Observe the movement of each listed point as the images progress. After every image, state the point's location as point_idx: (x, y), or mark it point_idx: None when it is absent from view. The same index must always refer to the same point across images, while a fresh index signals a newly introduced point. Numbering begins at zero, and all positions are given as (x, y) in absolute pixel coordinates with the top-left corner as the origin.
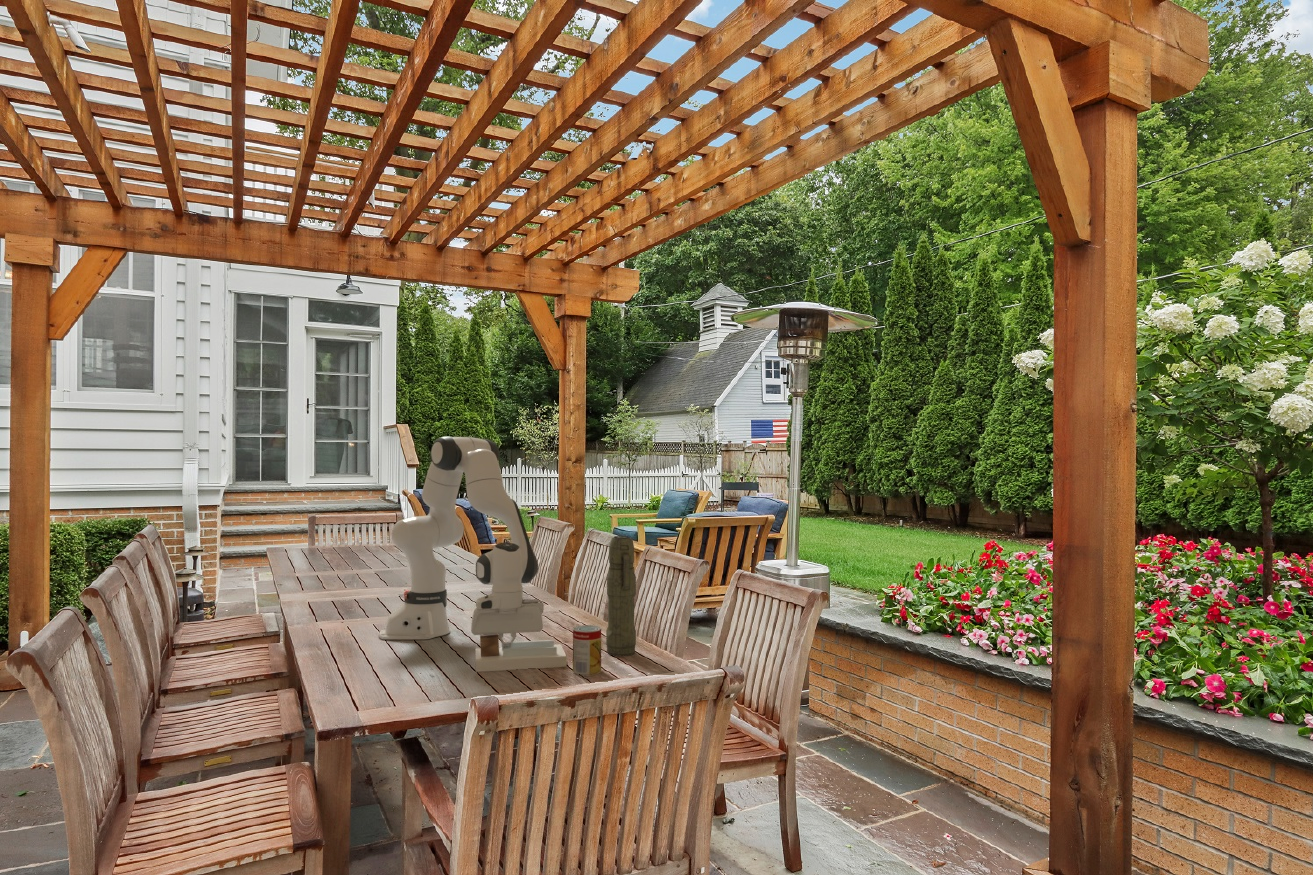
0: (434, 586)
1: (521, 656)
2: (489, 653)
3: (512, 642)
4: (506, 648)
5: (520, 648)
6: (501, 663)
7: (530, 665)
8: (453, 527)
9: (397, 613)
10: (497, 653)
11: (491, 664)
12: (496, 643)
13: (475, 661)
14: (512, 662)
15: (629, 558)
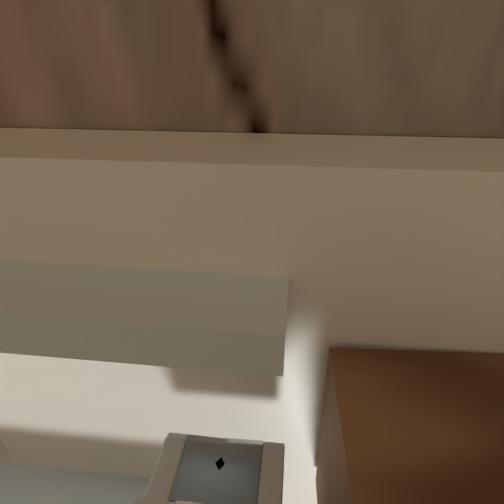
0: None
1: (70, 253)
2: (458, 373)
3: (139, 499)
4: (234, 439)
5: (41, 347)
6: (321, 151)
7: (6, 133)
8: None
9: None
10: (352, 361)
11: (451, 153)
12: (389, 488)
13: None
14: (183, 149)
15: None
